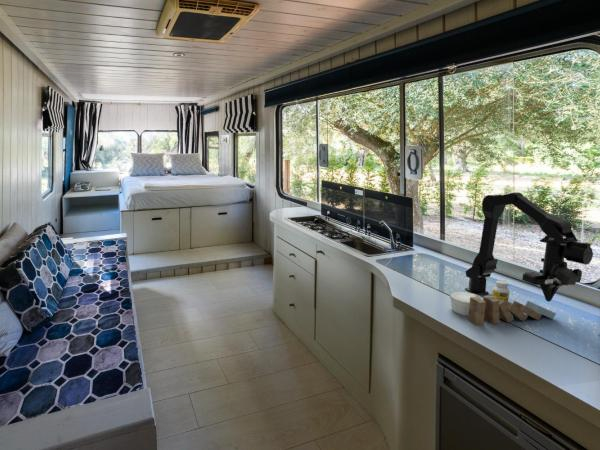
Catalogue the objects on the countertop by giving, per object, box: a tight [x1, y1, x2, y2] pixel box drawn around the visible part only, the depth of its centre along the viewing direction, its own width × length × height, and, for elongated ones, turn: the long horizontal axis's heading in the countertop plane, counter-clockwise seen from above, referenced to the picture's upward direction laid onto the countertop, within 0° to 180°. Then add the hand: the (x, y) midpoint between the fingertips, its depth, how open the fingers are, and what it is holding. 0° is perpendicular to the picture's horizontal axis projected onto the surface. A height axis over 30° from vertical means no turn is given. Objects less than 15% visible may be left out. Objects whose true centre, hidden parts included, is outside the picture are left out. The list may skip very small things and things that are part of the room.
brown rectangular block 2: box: [512, 300, 542, 321], centre depth 141 cm, size 5×2×8 cm
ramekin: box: [449, 291, 483, 317], centre depth 146 cm, size 11×11×5 cm
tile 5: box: [467, 297, 486, 327], centre depth 136 cm, size 5×2×8 cm, turn 13°
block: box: [524, 300, 557, 320], centre depth 142 cm, size 5×2×8 cm
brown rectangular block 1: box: [502, 299, 529, 322], centre depth 140 cm, size 5×2×8 cm
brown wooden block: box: [493, 296, 514, 324], centre depth 138 cm, size 5×2×8 cm
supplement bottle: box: [491, 279, 510, 302], centre depth 149 cm, size 5×5×10 cm
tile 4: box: [482, 294, 500, 325], centre depth 137 cm, size 5×2×8 cm, turn 13°
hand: (548, 301), depth 142 cm, fingers closed
